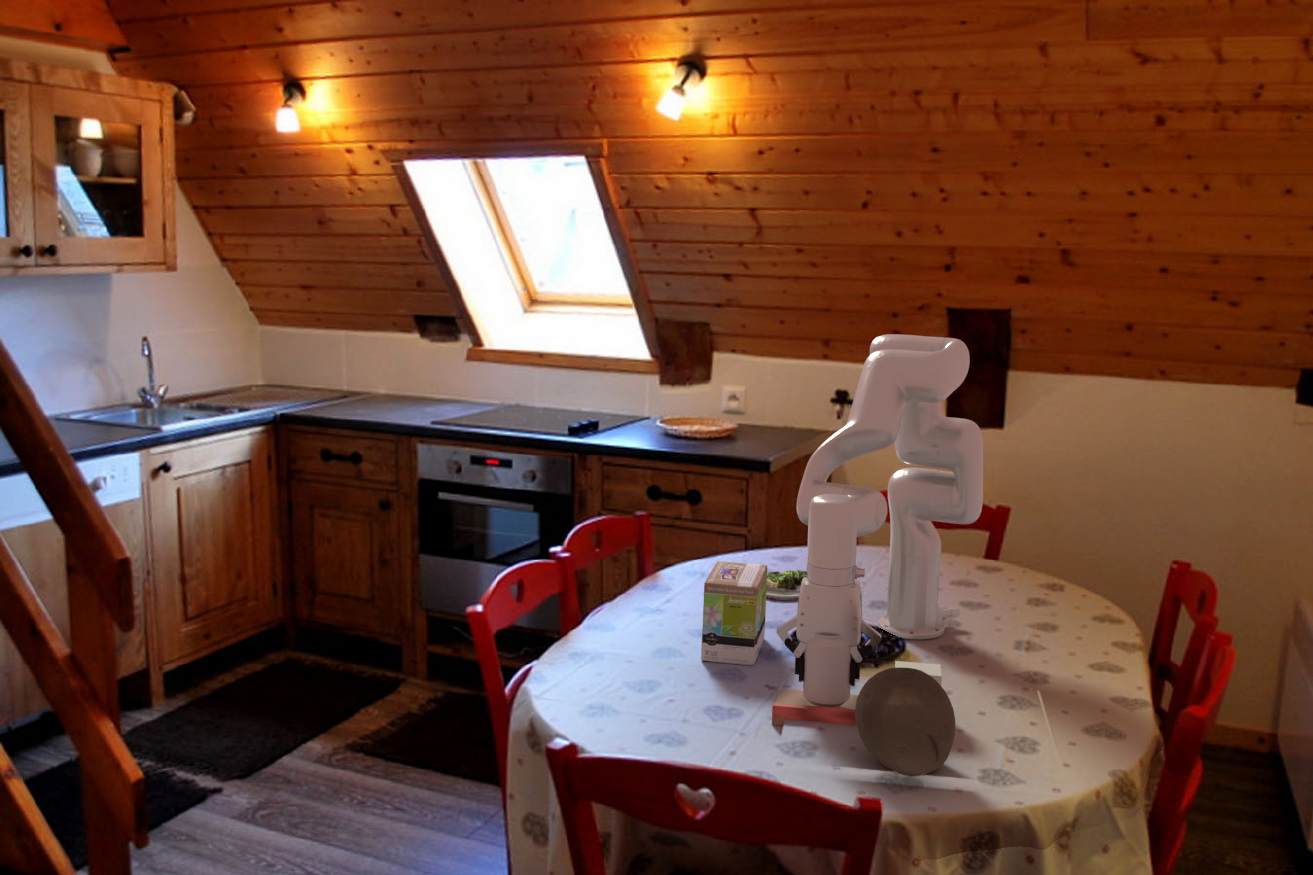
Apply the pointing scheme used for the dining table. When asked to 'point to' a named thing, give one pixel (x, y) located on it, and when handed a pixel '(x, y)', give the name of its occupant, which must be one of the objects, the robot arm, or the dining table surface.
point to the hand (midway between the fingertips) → (826, 680)
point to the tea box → (734, 613)
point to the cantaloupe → (906, 720)
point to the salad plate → (784, 584)
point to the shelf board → (810, 709)
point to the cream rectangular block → (923, 668)
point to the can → (827, 671)
